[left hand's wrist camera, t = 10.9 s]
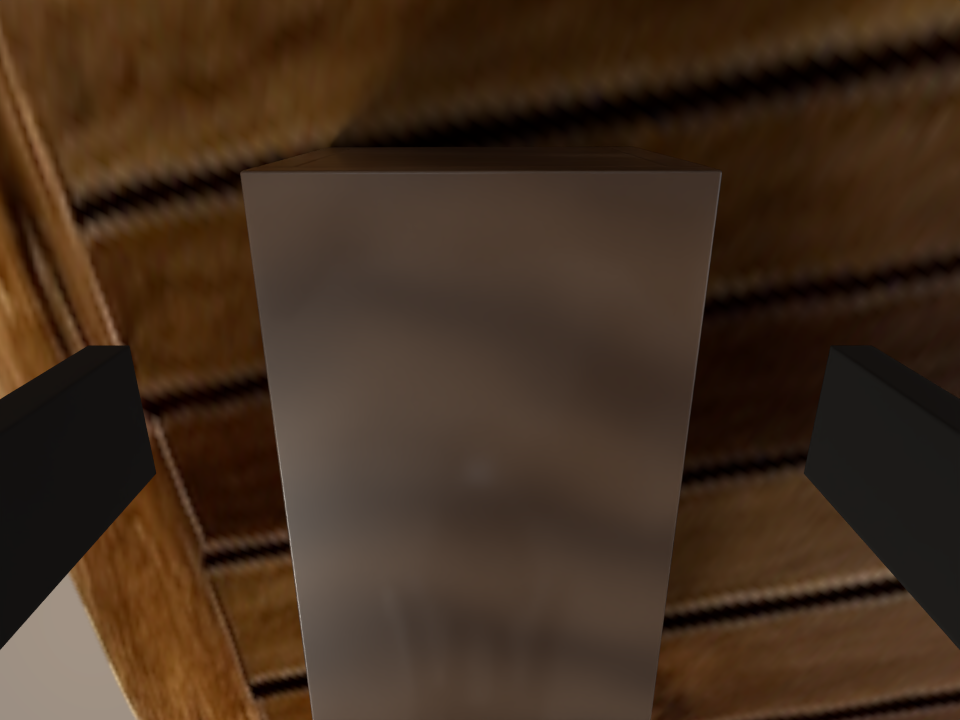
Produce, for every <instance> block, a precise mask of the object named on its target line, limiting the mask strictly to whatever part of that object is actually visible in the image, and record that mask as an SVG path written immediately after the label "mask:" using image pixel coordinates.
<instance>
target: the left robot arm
mask: <svg viewBox="0 0 960 720" xmlns="http://www.w3.org/2000/svg"><path fill="white" fill-rule="evenodd" d="M155 474H156V470H155V466H154V461H153V456H152V451H151V447H150V442H149V437H148V432H147V428H146V423H145V418H144V413H143V409H142V404H141V399H140V394H139V390H138V385H137V380H136V375H135V371H134V366H133V361H132V356H131V352H130V347H129V346H87V347H85V348H84V349H82V350H80V351H79V352H77V353H75V354H74V355H72V356H70V357H69V358H67V359H65V360H64V361H62V362H61V363H59V364H57V365H56V366H54V367H52V368H51V369H49V370H47V371H46V372H44V373H42V374H41V375H39V376H38V377H36V378H34V379H33V380H31V381H29V382H28V383H26V384H24V385H23V386H21V387H19V388H18V389H16V390H15V391H13V392H11V393H10V394H8V395H6V396H5V397H3V398H1V399H0V649H1V648H2V647H3V646H4V645H5V644H6V643H7V642H8V640H9V639H10V638H11V637H12V636H13V635H14V634H15V632H16V631H17V630H18V629H19V628H20V627H21V626H22V625H23V623H24V622H25V621H26V620H27V619H28V618H29V617H30V616H31V614H32V613H33V612H34V611H35V610H36V609H37V608H38V606H39V605H40V604H41V603H42V602H43V601H44V600H45V599H46V597H47V596H48V595H49V594H50V593H51V592H52V591H53V589H54V588H55V587H56V586H57V585H58V584H59V583H60V582H61V580H62V579H63V578H64V577H65V576H66V575H67V574H68V573H69V571H70V570H71V569H72V568H73V567H74V566H75V565H76V564H77V562H78V561H79V560H80V559H81V558H82V557H83V556H84V554H85V553H86V552H87V551H88V550H89V549H90V548H91V547H92V545H93V544H94V543H95V542H96V541H97V540H98V539H99V537H100V536H101V535H102V534H103V533H104V532H105V531H106V530H107V528H108V527H109V526H110V525H111V524H112V523H113V522H114V521H115V519H116V518H117V517H118V516H119V515H120V514H121V513H122V511H123V510H124V509H125V508H126V507H127V506H128V505H129V504H130V502H131V501H132V500H133V499H134V498H135V497H136V496H137V495H138V493H139V492H140V491H141V490H142V489H143V488H144V487H145V485H146V484H147V483H148V482H149V481H150V480H151V479H152V478H153V476H154V475H155ZM804 474H805V475H806V476H807V478H808V479H809V480H810V481H811V482H812V483H813V484H814V485H815V487H816V488H817V489H818V490H819V491H820V492H821V493H822V495H823V496H824V497H825V498H826V499H827V500H828V501H829V502H830V504H831V505H832V506H833V507H834V508H835V509H836V510H837V511H838V513H839V514H840V515H841V516H842V517H843V518H844V519H845V521H846V522H847V523H848V524H849V525H850V526H851V527H852V528H853V530H854V531H855V532H856V533H857V534H858V535H859V536H860V537H861V539H862V540H863V541H864V542H865V543H866V544H867V545H868V547H869V548H870V549H871V550H872V551H873V552H874V553H875V554H876V556H877V557H878V558H879V559H880V560H881V561H882V562H883V564H884V565H885V566H886V567H887V568H888V569H889V570H890V571H891V573H892V574H893V575H894V576H895V577H896V578H897V579H898V580H899V582H900V583H901V584H902V585H903V586H904V587H905V588H906V590H907V591H908V592H909V593H910V594H911V595H912V596H913V597H914V599H915V600H916V601H917V602H918V603H919V604H920V605H921V607H922V608H923V609H924V610H925V611H926V612H927V613H928V614H929V616H930V617H931V618H932V619H933V620H934V621H935V622H936V623H937V625H938V626H939V627H940V628H941V629H942V630H943V631H944V633H945V634H946V635H947V636H948V637H949V638H950V639H951V640H952V642H953V643H954V644H955V645H956V646H957V647H958V648H959V649H960V399H959V398H957V397H955V396H954V395H952V394H950V393H949V392H947V391H945V390H944V389H942V388H941V387H939V386H937V385H936V384H934V383H932V382H931V381H929V380H927V379H926V378H924V377H922V376H921V375H919V374H918V373H916V372H914V371H913V370H911V369H909V368H908V367H906V366H904V365H903V364H901V363H899V362H898V361H896V360H895V359H893V358H891V357H890V356H888V355H886V354H885V353H883V352H881V351H880V350H878V349H876V348H875V347H873V346H831V347H830V352H829V356H828V361H827V366H826V371H825V375H824V380H823V385H822V390H821V394H820V399H819V404H818V409H817V413H816V418H815V423H814V428H813V432H812V437H811V442H810V447H809V451H808V456H807V461H806V465H805V470H804Z"/></svg>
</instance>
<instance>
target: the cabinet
mask: <svg viewBox="0 0 960 720" xmlns="http://www.w3.org/2000/svg"><path fill="white" fill-rule="evenodd" d="M721 177H722V171H721V170H718V169H714V168H711V167H707V166H704V165H700V164H696V163H692V162H689V161H685V160H681V159H677V158H674V157H670V156H666V155H662V154H658V153H655V152H651V151H647V150H643V149H640V148H635V147H328V148H325V149H321V150H318V151H314V152H310V153H307V154H303V155H299V156H296V157H292V158H288V159H285V160H281V161H277V162H274V163H270V164H266V165H263V166H259V167H255V168H251V169H247V170H244V171H241V182H242V189H243V197H244V205H245V212H246V220H247V227H248V235H249V242H250V250H251V257H252V265H253V273H254V280H255V288H256V295H257V303H258V310H259V318H260V325H261V333H262V340H263V348H264V356H265V363H266V371H267V378H268V386H269V393H270V401H271V408H272V416H273V423H274V431H275V439H276V446H277V454H278V461H279V469H280V476H281V484H282V491H283V499H284V506H285V514H286V522H287V529H288V537H289V544H290V552H291V559H292V567H293V574H294V582H295V589H296V597H297V605H298V612H299V620H300V627H301V635H302V642H303V650H304V657H305V665H306V672H307V680H308V688H309V695H310V703H311V710H312V718H313V720H651V713H652V705H653V697H654V690H655V682H656V674H657V667H658V659H659V652H660V644H661V636H662V629H663V621H664V613H665V606H666V598H667V590H668V583H669V575H670V567H671V560H672V552H673V544H674V537H675V529H676V521H677V514H678V506H679V498H680V491H681V483H682V475H683V468H684V460H685V452H686V445H687V437H688V429H689V422H690V414H691V406H692V399H693V391H694V383H695V376H696V368H697V360H698V353H699V345H700V337H701V330H702V322H703V314H704V307H705V299H706V292H707V284H708V276H709V269H710V261H711V253H712V246H713V238H714V230H715V223H716V215H717V207H718V200H719V192H720V184H721Z"/></svg>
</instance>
